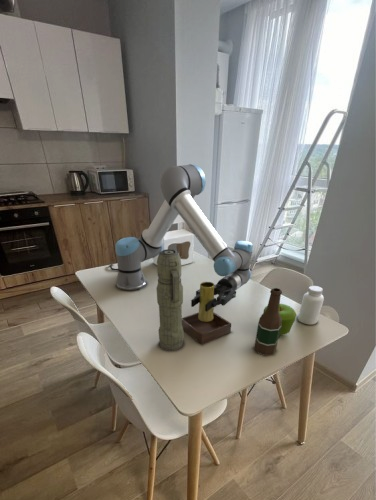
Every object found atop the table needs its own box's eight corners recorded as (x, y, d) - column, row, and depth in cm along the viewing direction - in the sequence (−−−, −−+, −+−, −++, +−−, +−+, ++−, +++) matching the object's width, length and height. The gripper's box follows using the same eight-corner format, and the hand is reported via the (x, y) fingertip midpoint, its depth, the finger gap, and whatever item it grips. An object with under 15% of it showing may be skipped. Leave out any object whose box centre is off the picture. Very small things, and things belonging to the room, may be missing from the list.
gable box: (181, 256, 191) (181, 211, 175) (193, 262, 182) (194, 215, 166) (152, 263, 180) (150, 216, 164) (164, 269, 171) (162, 220, 155)
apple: (279, 343, 109) (285, 318, 103) (253, 330, 116) (257, 305, 110) (297, 332, 116) (304, 307, 109) (272, 320, 123) (276, 296, 117)
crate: (180, 327, 118) (180, 318, 115) (207, 317, 125) (208, 308, 123) (201, 344, 108) (202, 335, 106) (230, 332, 115) (231, 323, 113)
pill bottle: (294, 320, 123) (302, 288, 115) (302, 313, 128) (310, 282, 120) (312, 327, 119) (322, 294, 110) (320, 320, 124) (329, 288, 115)
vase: (195, 315, 115) (196, 282, 107) (209, 312, 117) (210, 280, 109) (202, 323, 110) (203, 289, 102) (216, 320, 112) (218, 286, 104)
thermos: (168, 355, 102) (165, 259, 83) (153, 339, 110) (147, 248, 91) (189, 348, 106) (191, 254, 87) (173, 333, 114) (171, 244, 95)
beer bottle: (276, 357, 102) (290, 296, 89) (254, 354, 103) (264, 293, 90) (275, 344, 108) (288, 285, 95) (254, 342, 110) (264, 283, 96)
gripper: (247, 298, 119) (220, 322, 103) (209, 287, 128) (178, 307, 112) (250, 281, 115) (221, 303, 99) (210, 271, 124) (178, 290, 108)
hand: (199, 305), depth 105 cm, fingers closed on vase, 5 cm apart
